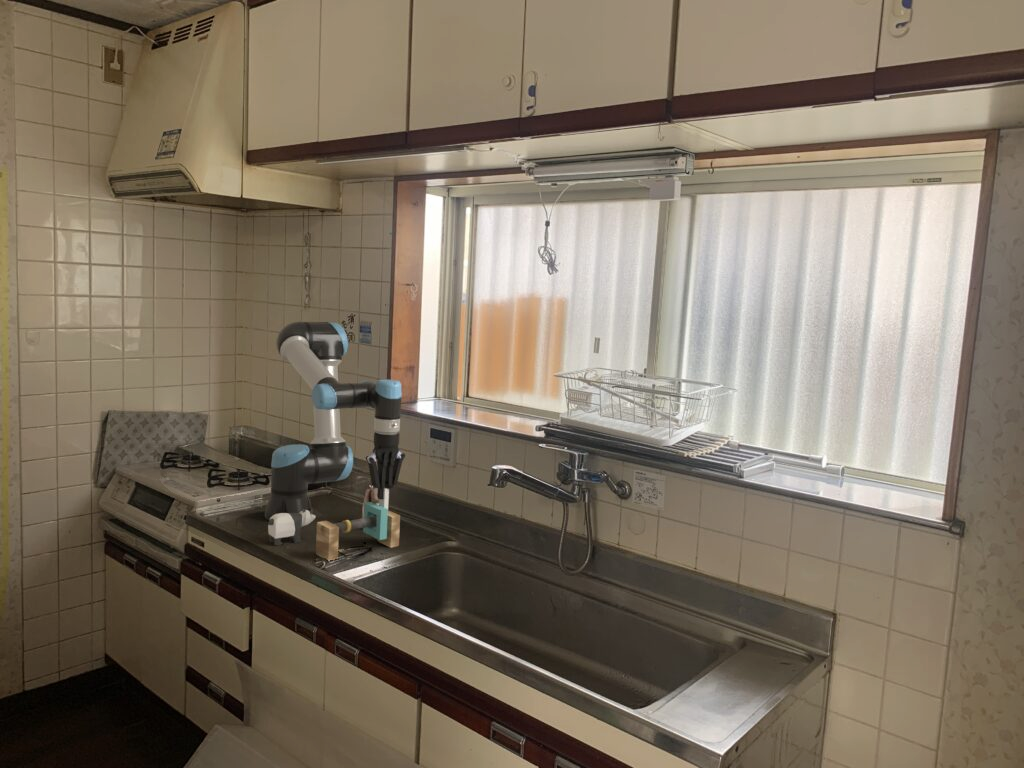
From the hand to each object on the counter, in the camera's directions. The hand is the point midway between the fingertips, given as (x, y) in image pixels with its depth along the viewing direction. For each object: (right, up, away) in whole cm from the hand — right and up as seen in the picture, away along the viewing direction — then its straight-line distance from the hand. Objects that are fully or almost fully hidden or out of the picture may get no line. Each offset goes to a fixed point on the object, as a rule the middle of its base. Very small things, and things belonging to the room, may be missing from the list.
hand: (383, 509), depth 233 cm
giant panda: (-28, -10, 0) cm, 30 cm away
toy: (-6, -9, +18) cm, 21 cm away
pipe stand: (-7, -11, -4) cm, 14 cm away
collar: (-2, -8, -1) cm, 8 cm away
